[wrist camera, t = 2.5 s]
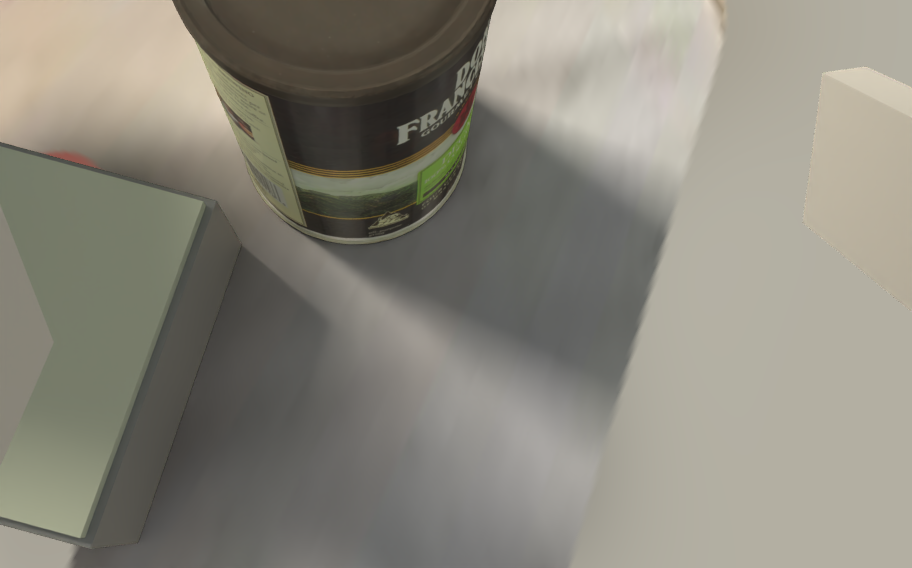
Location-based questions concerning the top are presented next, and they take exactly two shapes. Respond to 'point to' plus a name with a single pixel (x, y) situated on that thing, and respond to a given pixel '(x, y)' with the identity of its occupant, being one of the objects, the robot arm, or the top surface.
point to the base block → (106, 340)
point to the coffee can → (346, 104)
